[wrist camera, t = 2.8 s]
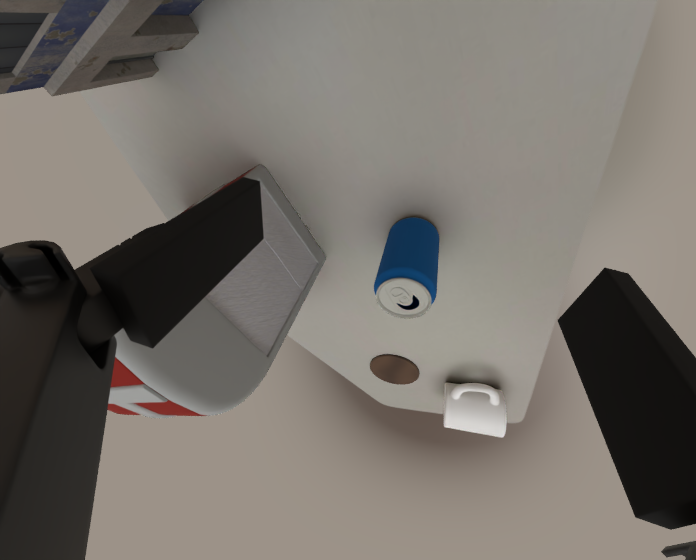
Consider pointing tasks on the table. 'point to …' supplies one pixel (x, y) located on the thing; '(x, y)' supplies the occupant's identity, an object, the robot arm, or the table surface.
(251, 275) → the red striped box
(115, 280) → the robot arm
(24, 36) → the building
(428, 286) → the beverage can
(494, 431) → the mug
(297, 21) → the table surface
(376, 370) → the coaster
